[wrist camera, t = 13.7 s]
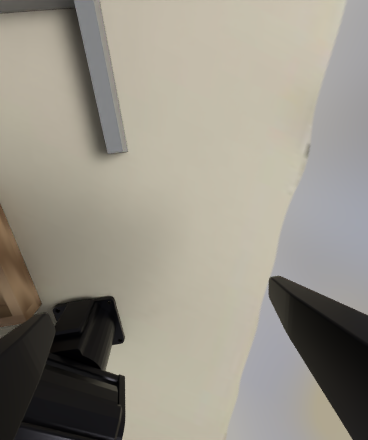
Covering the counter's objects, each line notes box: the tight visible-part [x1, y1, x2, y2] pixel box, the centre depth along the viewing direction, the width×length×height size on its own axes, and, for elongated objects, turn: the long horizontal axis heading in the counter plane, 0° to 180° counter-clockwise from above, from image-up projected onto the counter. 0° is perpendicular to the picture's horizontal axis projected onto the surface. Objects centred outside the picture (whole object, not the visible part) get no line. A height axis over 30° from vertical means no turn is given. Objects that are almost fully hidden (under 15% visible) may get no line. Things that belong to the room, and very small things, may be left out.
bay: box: [0, 0, 128, 154], centre depth 15 cm, size 11×15×2 cm
